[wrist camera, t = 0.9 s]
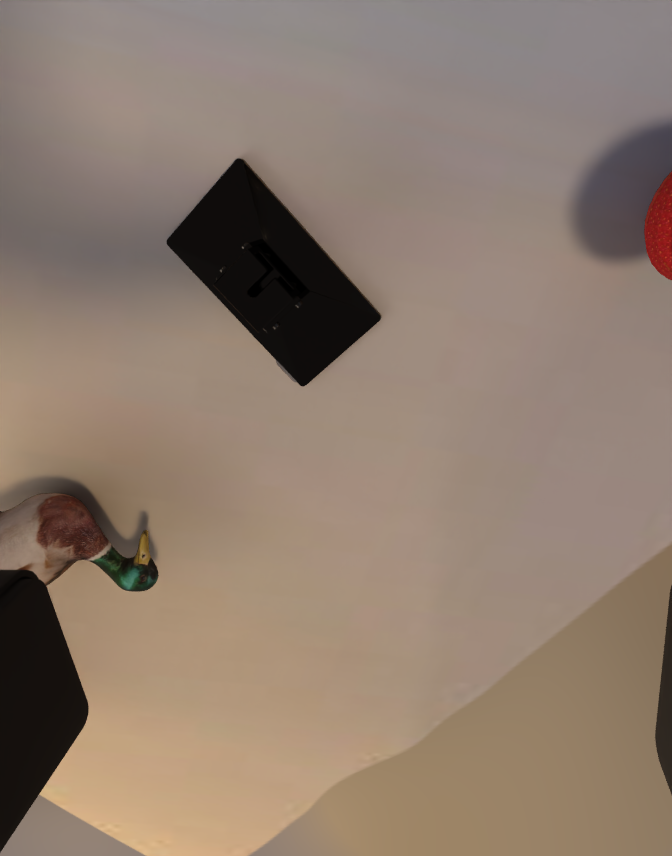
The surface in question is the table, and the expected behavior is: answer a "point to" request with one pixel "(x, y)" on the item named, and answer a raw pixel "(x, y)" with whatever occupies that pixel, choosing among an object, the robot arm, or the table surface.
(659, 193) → the strawberry
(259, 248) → the build plate
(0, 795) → the robot arm
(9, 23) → the table surface
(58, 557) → the decorative duck model
